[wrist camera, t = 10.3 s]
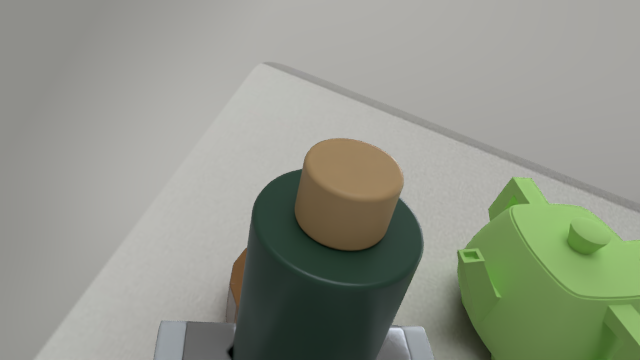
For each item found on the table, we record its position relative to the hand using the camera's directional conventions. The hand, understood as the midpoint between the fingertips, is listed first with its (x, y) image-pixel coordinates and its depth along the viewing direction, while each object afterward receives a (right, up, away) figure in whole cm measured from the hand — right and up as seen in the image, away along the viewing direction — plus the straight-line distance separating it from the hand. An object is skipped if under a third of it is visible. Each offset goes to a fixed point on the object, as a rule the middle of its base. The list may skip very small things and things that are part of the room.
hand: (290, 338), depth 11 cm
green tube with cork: (-1, -6, +3) cm, 7 cm away
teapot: (+14, -7, +24) cm, 29 cm away
